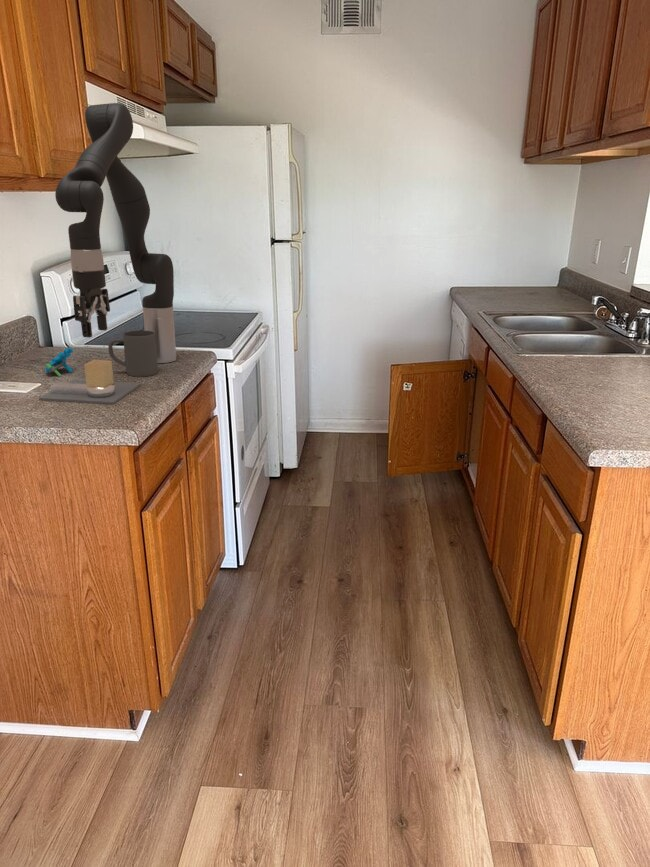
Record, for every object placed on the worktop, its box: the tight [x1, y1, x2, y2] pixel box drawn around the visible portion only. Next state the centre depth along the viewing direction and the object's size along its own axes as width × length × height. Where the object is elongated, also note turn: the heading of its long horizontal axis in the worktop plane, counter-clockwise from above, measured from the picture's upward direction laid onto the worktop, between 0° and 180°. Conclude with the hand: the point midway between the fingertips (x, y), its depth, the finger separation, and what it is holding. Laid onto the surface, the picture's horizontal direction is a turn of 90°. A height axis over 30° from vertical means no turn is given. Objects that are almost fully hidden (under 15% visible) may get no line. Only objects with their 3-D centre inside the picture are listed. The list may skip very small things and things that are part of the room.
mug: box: [108, 329, 159, 378], centre depth 189 cm, size 14×9×12 cm
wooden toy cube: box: [84, 359, 115, 388], centre depth 166 cm, size 5×5×6 cm
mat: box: [38, 379, 142, 405], centre depth 171 cm, size 18×20×1 cm
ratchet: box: [49, 382, 115, 398], centre depth 168 cm, size 7×16×6 cm, turn 83°
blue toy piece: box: [44, 347, 74, 377], centre depth 189 cm, size 11×6×10 cm
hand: (95, 333), depth 163 cm, fingers open, 8 cm apart
